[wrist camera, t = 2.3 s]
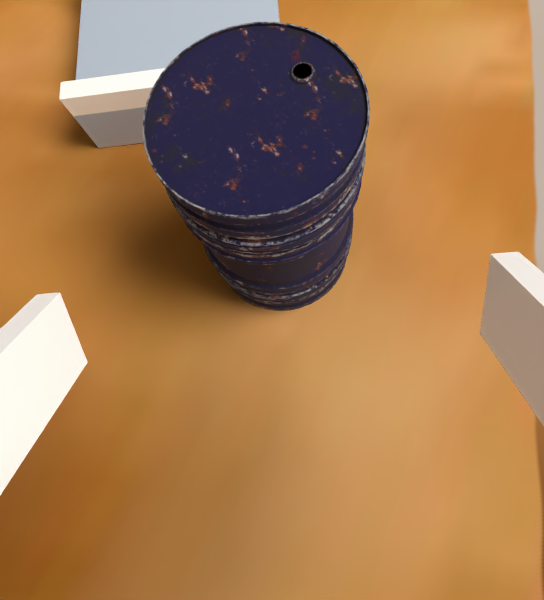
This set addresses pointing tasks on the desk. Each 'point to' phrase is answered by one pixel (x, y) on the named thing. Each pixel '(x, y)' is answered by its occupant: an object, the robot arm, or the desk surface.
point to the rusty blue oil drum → (263, 156)
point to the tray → (139, 56)
